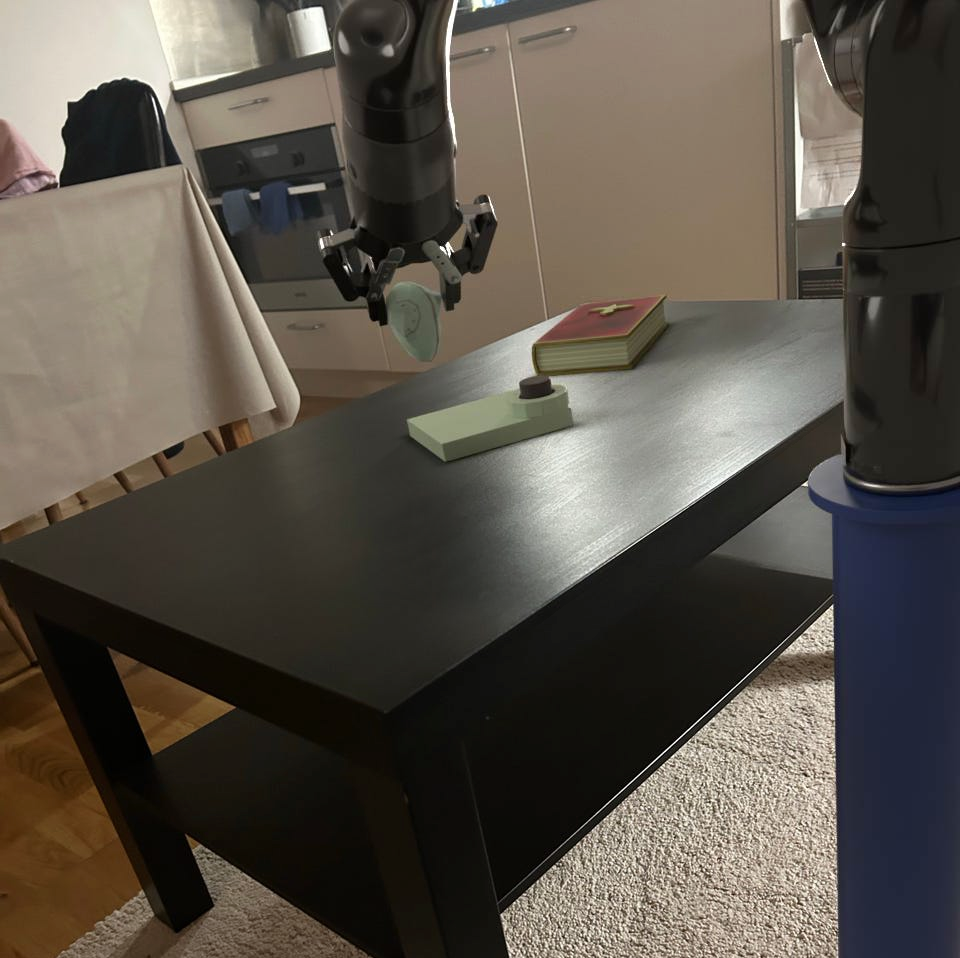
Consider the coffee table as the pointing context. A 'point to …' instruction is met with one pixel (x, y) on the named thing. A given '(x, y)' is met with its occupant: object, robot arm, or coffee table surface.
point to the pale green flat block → (490, 423)
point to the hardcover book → (600, 337)
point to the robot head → (415, 319)
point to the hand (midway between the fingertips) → (414, 309)
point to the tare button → (535, 387)
